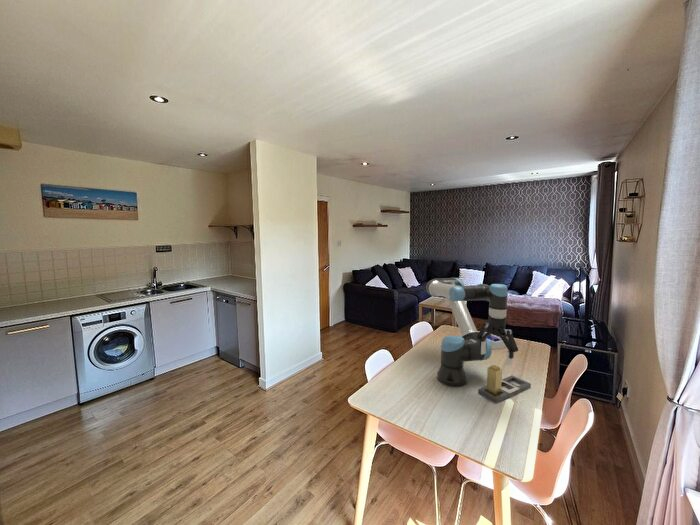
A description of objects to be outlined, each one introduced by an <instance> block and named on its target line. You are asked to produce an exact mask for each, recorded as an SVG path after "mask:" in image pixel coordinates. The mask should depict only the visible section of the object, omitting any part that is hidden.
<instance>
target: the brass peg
mask: <svg viewBox="0 0 700 525" xmlns="http://www.w3.org/2000/svg"><path fill="white" fill-rule="evenodd" d="M486 376H487V377H486V386H487V392H488V393H490V394H492V395H494V396H498V395H500V394H501V388H502V386H501V383H502V379H503V369H502V368H501V367H500V366H497V365H496V364H493V365H490V366H488V367H487V374H486Z"/></svg>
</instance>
